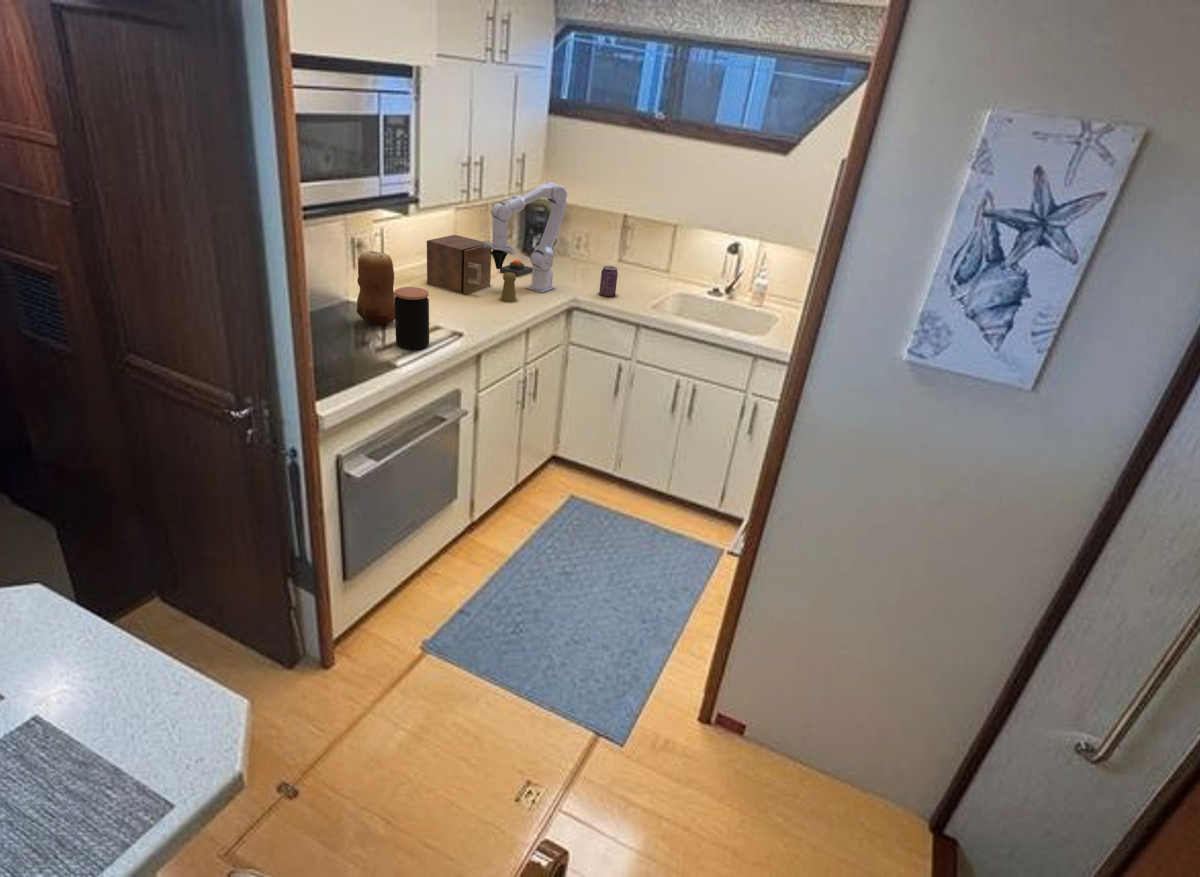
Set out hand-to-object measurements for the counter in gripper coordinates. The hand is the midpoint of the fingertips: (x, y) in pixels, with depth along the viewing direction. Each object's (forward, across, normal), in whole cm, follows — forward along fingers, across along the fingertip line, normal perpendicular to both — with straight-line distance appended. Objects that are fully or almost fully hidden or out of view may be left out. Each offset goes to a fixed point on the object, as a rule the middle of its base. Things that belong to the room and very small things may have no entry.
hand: (498, 268), depth 285 cm
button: (+6, -13, +32) cm, 35 cm away
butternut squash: (+10, -6, -62) cm, 63 cm away
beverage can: (+10, +34, +34) cm, 49 cm away
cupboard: (+10, -18, -4) cm, 21 cm away
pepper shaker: (+10, +9, -5) cm, 14 cm away
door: (+10, -5, -4) cm, 12 cm away
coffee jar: (+10, +16, -69) cm, 72 cm away
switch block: (+10, -13, +32) cm, 36 cm away
